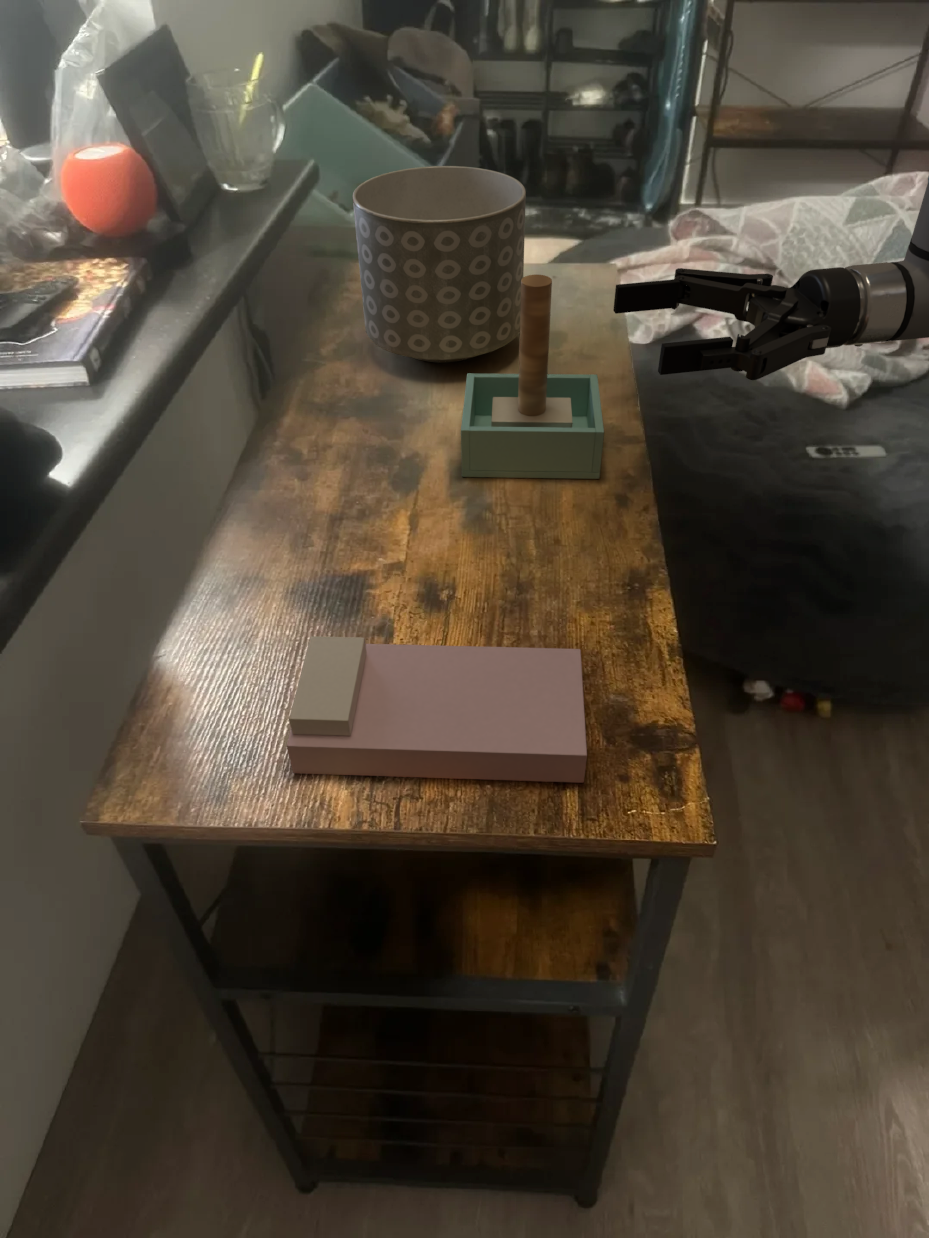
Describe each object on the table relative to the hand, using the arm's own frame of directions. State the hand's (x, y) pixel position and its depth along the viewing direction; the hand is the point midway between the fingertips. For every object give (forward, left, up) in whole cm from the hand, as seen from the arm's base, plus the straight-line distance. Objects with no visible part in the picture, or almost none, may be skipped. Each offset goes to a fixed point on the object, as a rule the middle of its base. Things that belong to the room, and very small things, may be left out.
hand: (636, 327), depth 85 cm
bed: (-7, +43, -12) cm, 45 cm away
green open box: (+7, +7, -12) cm, 16 cm away
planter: (+28, -7, -12) cm, 31 cm away
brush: (+7, +7, -11) cm, 15 cm away
